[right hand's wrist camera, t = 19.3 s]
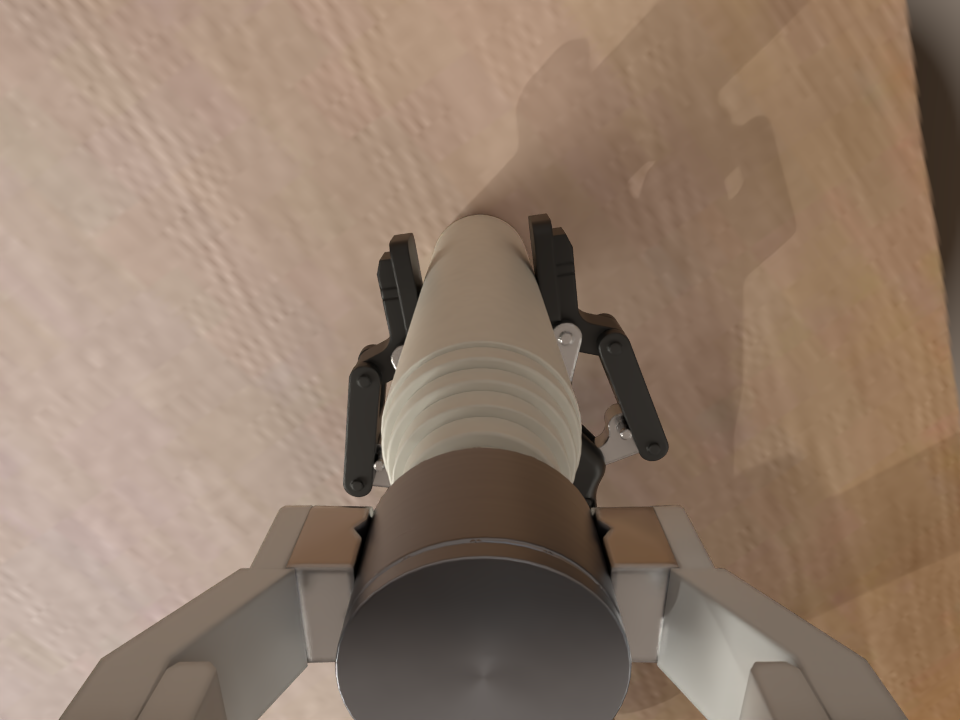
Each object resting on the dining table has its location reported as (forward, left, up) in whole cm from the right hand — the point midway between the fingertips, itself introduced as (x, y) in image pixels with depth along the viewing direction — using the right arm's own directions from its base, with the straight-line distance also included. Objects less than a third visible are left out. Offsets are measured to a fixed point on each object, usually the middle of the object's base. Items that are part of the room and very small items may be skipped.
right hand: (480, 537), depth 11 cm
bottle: (0, 0, -21) cm, 21 cm away
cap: (0, 0, 0) cm, 0 cm away
